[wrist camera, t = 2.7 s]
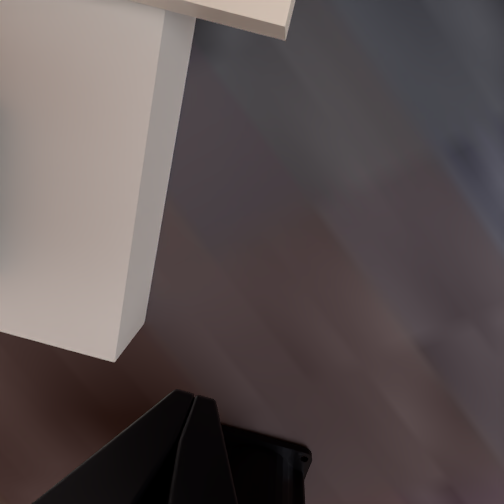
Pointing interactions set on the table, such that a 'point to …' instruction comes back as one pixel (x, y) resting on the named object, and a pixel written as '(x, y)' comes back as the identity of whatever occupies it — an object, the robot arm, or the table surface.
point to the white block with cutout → (85, 165)
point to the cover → (236, 13)
